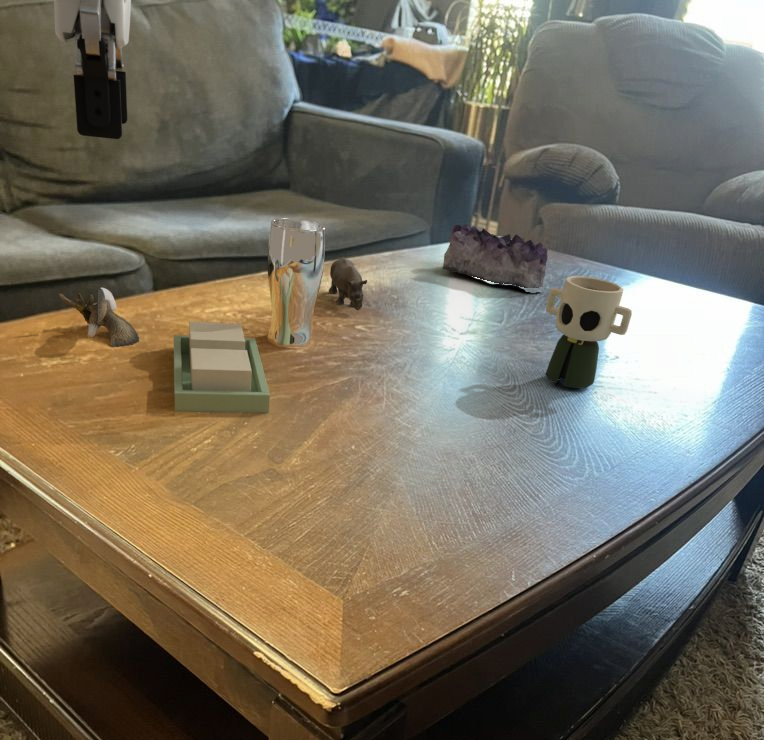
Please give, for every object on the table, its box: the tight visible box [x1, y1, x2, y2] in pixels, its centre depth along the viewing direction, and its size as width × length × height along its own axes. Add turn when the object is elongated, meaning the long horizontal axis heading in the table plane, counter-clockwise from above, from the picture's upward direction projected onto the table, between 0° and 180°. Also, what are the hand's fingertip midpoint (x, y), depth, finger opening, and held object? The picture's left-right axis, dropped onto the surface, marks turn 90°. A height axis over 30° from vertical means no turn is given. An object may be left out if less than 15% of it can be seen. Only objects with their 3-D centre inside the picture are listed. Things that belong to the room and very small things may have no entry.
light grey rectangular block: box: [191, 348, 252, 392], centre depth 83 cm, size 6×6×4 cm
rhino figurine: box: [328, 256, 368, 311], centre depth 118 cm, size 4×14×6 cm, turn 16°
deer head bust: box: [58, 287, 140, 348], centre depth 94 cm, size 8×7×9 cm
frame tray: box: [173, 334, 271, 414], centre depth 87 cm, size 17×10×2 cm, turn 13°
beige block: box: [188, 321, 245, 371], centre depth 90 cm, size 6×6×4 cm
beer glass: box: [266, 217, 326, 350], centre depth 98 cm, size 7×7×15 cm
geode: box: [442, 223, 549, 288], centre depth 141 cm, size 20×12×10 cm, turn 62°
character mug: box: [545, 275, 633, 389], centre depth 98 cm, size 11×7×13 cm, turn 55°
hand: (104, 128), depth 63 cm, fingers open, 9 cm apart
